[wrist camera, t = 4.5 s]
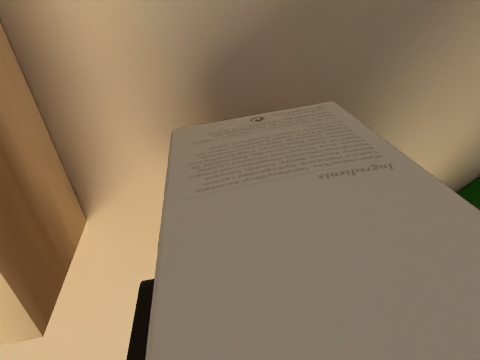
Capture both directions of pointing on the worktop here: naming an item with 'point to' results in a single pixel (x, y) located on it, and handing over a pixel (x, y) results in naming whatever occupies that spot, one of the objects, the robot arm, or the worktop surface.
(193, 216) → the small box
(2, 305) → the beech block
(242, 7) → the worktop surface
